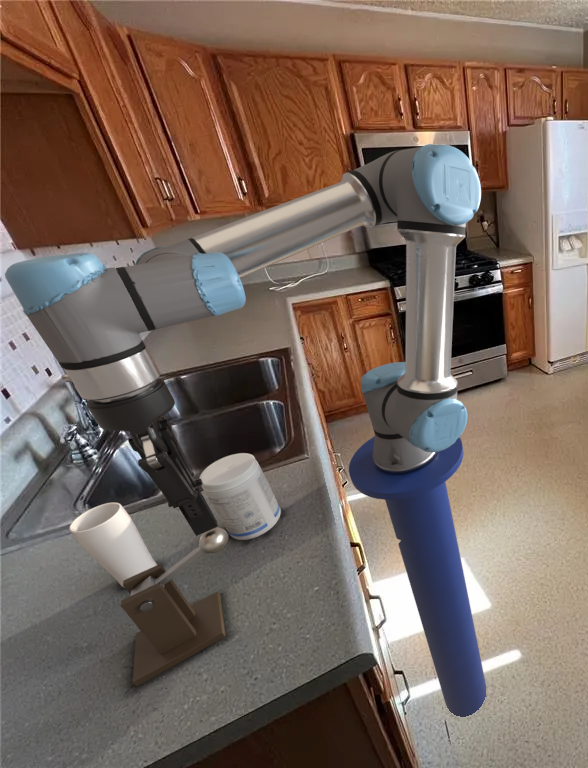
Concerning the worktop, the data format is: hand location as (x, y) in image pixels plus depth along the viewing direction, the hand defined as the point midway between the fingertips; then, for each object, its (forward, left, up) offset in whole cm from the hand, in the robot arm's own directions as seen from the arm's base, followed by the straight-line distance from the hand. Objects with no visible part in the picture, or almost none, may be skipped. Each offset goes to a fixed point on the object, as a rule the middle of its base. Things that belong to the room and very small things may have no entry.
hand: (206, 528), depth 61 cm
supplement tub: (-4, -19, -17) cm, 26 cm away
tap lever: (+4, 0, -6) cm, 7 cm away
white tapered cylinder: (+15, -19, -17) cm, 30 cm away
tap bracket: (+9, 0, -17) cm, 19 cm away
